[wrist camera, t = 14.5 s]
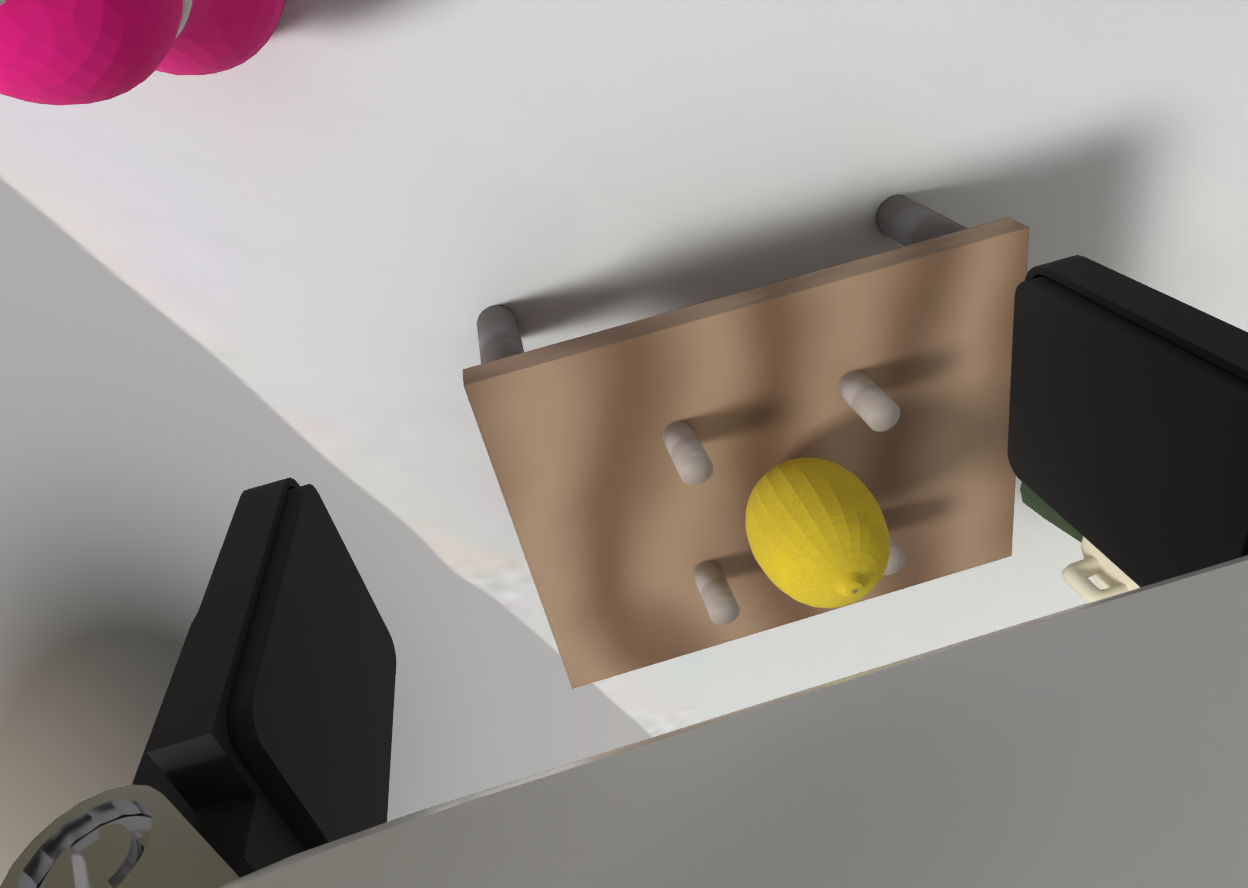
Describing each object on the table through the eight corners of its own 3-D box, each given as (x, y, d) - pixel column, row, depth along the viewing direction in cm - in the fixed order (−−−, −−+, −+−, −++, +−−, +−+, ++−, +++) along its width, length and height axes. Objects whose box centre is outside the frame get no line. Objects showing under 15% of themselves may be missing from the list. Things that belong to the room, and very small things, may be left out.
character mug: (981, 535, 55) (1116, 679, 44) (976, 449, 51) (1122, 583, 40) (1134, 480, 55) (1306, 610, 44) (1140, 391, 52) (1330, 509, 41)
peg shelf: (921, 178, 42) (1076, 248, 32) (926, 466, 51) (1046, 592, 41) (458, 305, 40) (465, 421, 30) (552, 577, 50) (580, 735, 40)
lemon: (701, 476, 37) (759, 591, 30) (803, 403, 36) (886, 505, 30) (761, 547, 40) (827, 667, 33) (858, 481, 39) (945, 591, 32)
